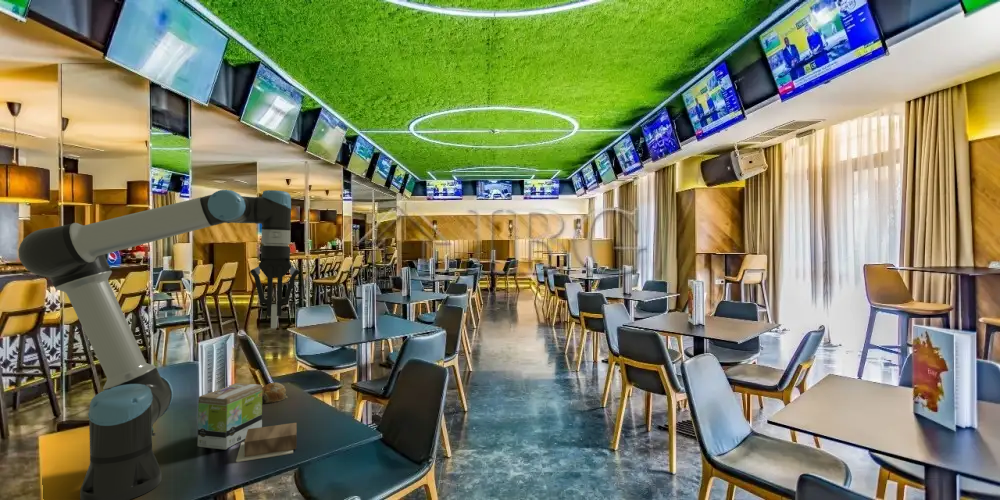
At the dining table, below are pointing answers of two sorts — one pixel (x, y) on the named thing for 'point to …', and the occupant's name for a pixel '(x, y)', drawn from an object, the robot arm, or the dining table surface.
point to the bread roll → (273, 393)
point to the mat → (242, 454)
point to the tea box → (228, 415)
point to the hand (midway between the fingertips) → (273, 327)
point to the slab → (271, 439)
